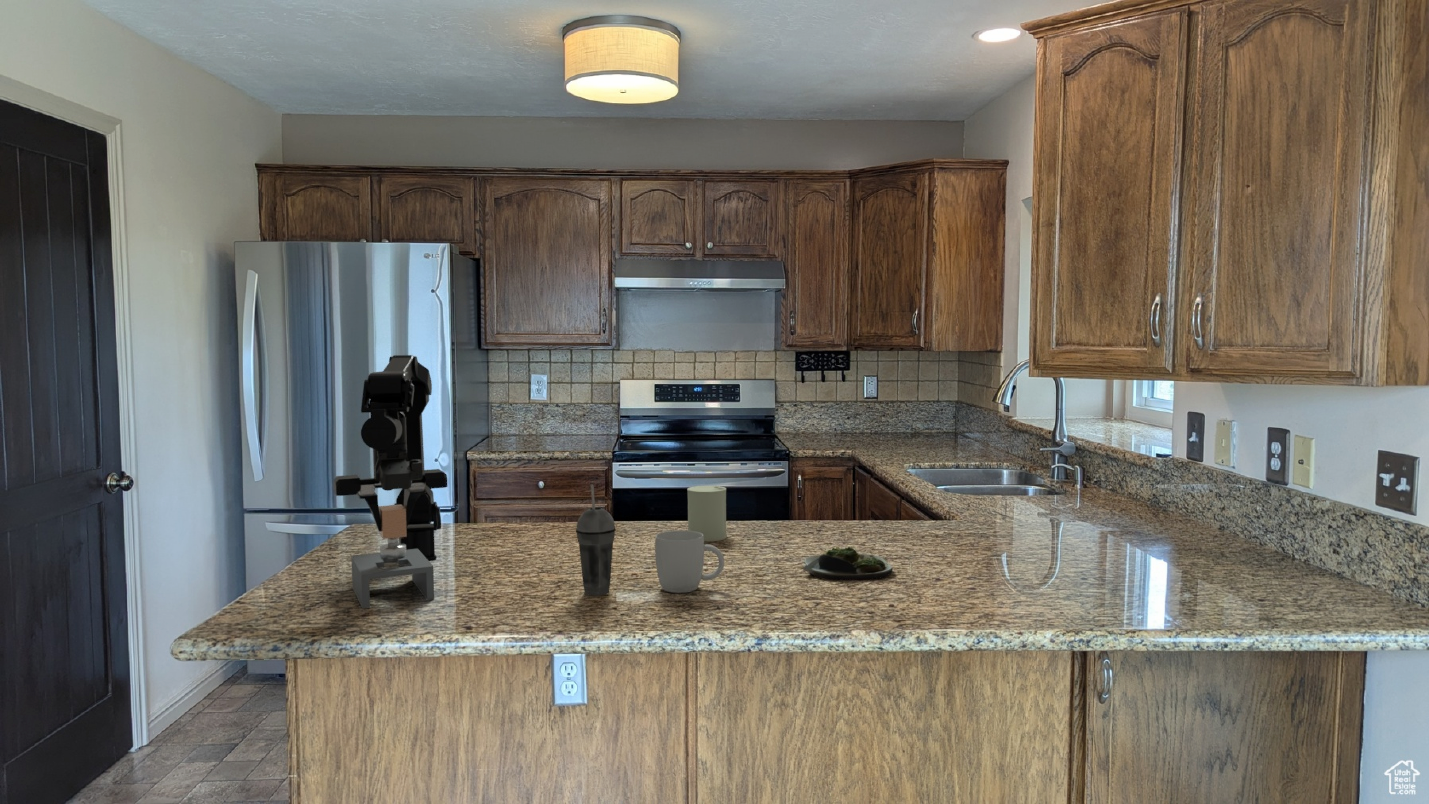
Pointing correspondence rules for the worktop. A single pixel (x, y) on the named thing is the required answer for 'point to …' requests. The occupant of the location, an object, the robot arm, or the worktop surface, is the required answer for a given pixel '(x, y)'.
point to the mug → (683, 560)
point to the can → (707, 512)
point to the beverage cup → (596, 548)
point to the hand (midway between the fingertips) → (392, 529)
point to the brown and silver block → (393, 531)
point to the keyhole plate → (391, 573)
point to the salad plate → (847, 565)
